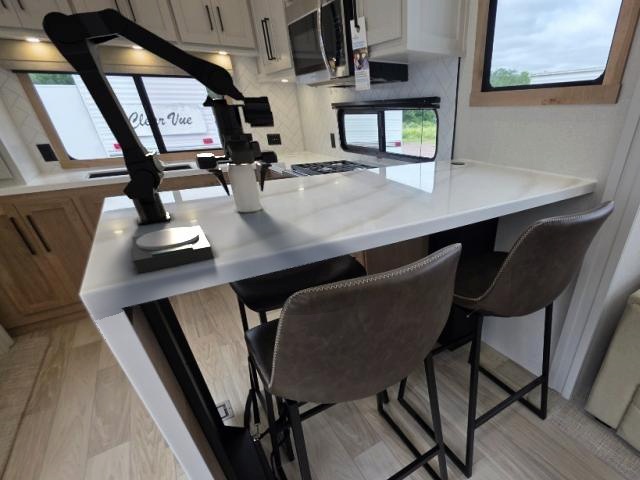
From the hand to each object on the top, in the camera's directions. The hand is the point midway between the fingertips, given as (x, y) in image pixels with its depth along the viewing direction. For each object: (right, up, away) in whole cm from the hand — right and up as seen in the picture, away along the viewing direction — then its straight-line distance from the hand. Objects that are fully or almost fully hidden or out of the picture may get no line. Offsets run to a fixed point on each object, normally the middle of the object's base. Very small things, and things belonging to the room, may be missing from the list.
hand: (245, 193), depth 89 cm
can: (0, -4, +2) cm, 5 cm away
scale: (-3, -19, -24) cm, 31 cm away
